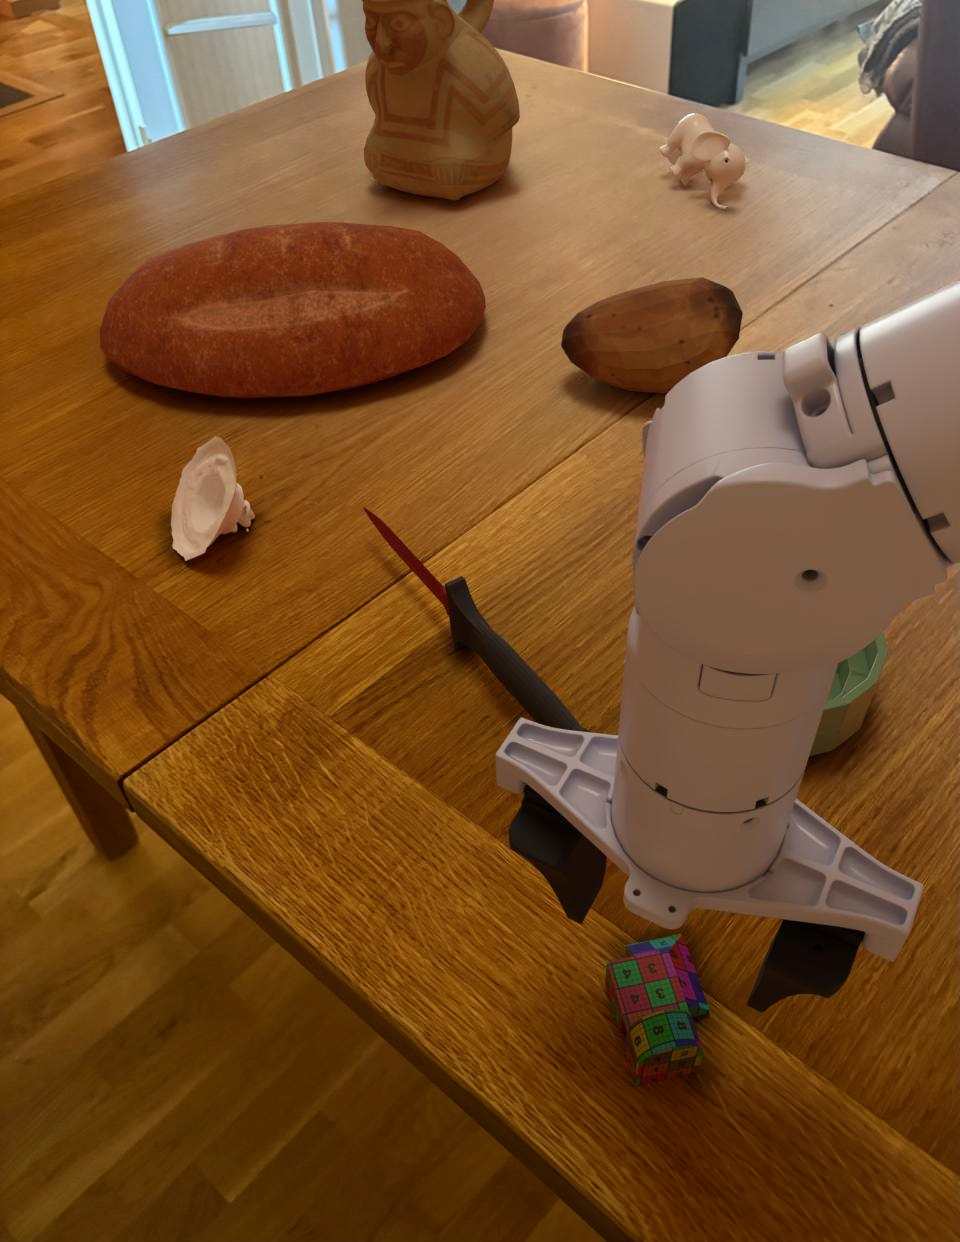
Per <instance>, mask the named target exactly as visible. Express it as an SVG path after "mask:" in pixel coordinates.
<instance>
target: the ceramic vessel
mask: <svg viewBox="0 0 960 1242" xmlns="http://www.w3.org/2000/svg"><path fill="white" fill-rule="evenodd" d="M361 2H362V12H363V13H364V17H365V22H364V33H365V36H366V40H367V42H368V44H369V46H370V48H371V52H370V54H369V57H368V59H367V63H366V67H365V73H364V74H365V77H364V78H365V79H364V80H365V81H364V82H365V91H366V95H367V99H368V102H369V105H370V107H371V110H372V111H373V113H374V116H375V117H374V120H373V125H372V127H371V129H370V131H369V133H368V135H367V137H366V140H365V144H364V147H363V160H364V164H365V167H366V168H367V169H368V171H369V172H370V174H371V175H372V177H373V179H374V180H376V181H377V183H379V184H380V185H383V186H386V187H388V188H392V189H394V190H397V191H400V192H404V193H409V194H413V195H416V196H424V197H430V198H437V199H445V200H448V201H459V200H460V199H462V198H463V197H464V196H468V195H471V194H474V193H477V192H479V191H481V190H484V189H485V188H488V187H489V186H492V185H493V184H495V182H497V181H498V180H500V178H502V177H503V176H504V175H505V173H506V171H507V169H508V167H509V165H510V160H511V156H512V148H513V127H515V126H516V125H517V124H518V123H519V121H520V118H521V115H520V114H521V112H520V102H519V96H518V94H517V89H516V86H515V82H514V80H513V78H512V77H513V76H512V75H511V72H510V70H509V67H508V66H507V64H506V62H505V60H504V58H503V56H502V55H501V54H500V53H499V52H498V50H497V48H495V46H494V45H493V44H492V43H491V42H490V41H489V39H487V38H486V37H485V36H484V35H482V33H483V31H484V30H485V29H486V27H487V25H488V23H489V21H490V18H491V15H492V11H493V7H494V3H495V0H465V3H464V5H463V6H462V8H461V10H460V11H459V12H458V13H456V11H455V10H453V8H452V6H451V5H450V4H449V2H448V0H361Z"/></svg>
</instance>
